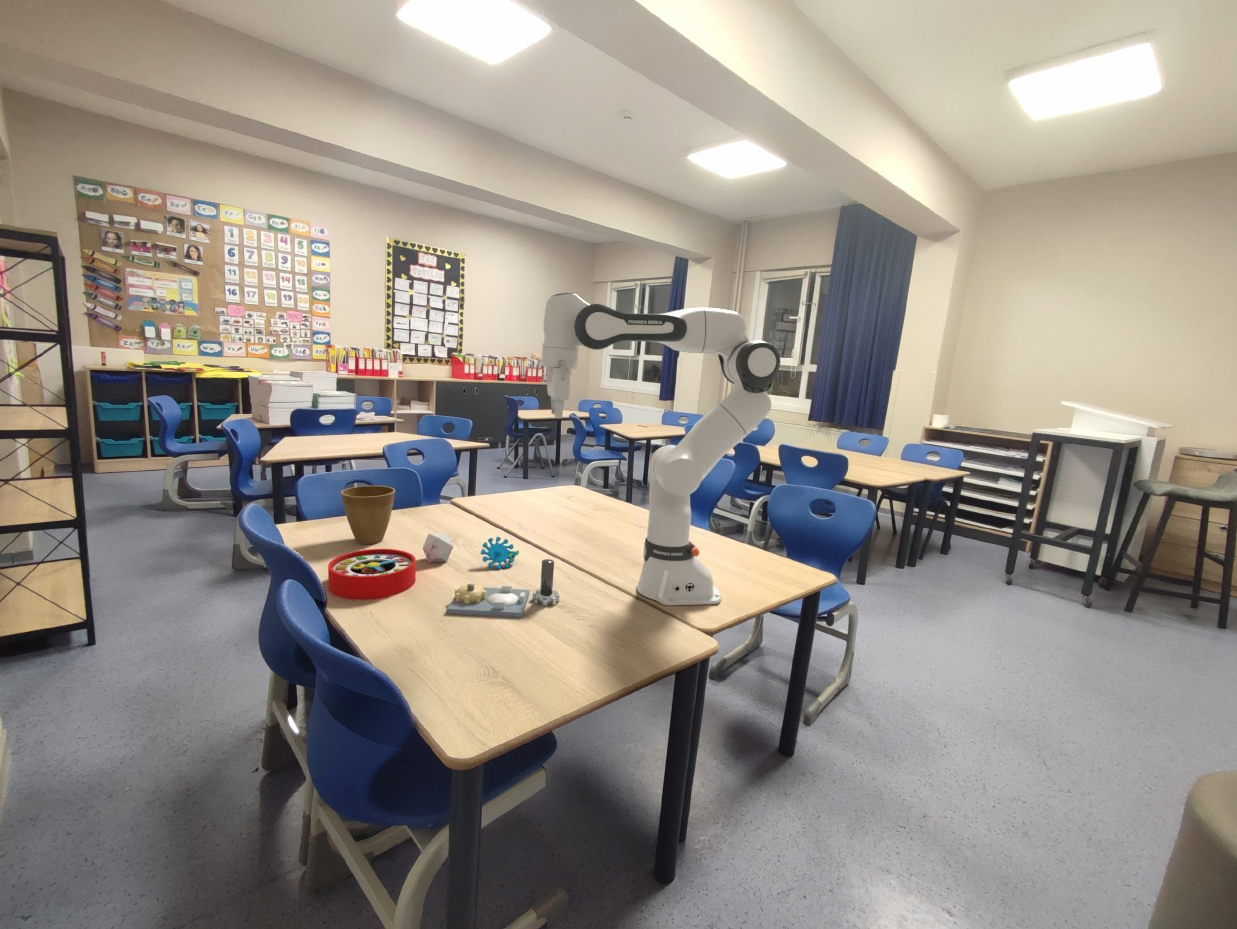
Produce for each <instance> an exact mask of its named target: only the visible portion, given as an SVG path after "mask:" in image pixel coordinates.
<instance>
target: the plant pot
mask: <svg viewBox="0 0 1237 929" xmlns="http://www.w3.org/2000/svg"><path fill="white" fill-rule="evenodd" d="M340 493H341V494H340V495H341V499H342V504H343V508H344V509H343V510H344V512H345V515H346V518H347V522H348V525H349V527H350V531H351V532H352V535H353V537H354V538H355V541H356V543H358V544H359V545H361V544H362V545H372V544H377V543H378V544H379V543H381V542H382V541H383V540H384V538H385V536H386V532H387V529H388V526H389V523H390V519H391V515H392V510H393V507H394V501H395V493H396V489H395V488H393V487H390V486H385V485H361V486H354V487H352V486H351V487H349V488H345V489H343V490H341V491H340Z"/></svg>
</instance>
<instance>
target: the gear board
mask: <svg viewBox="0 0 1237 929" xmlns="http://www.w3.org/2000/svg"><path fill="white" fill-rule="evenodd" d="M530 592H531V591H530V589H523V588H513V585H512V584H501V587H487V586H486V587H485V586H484V585H478V584H475V583H468V584H466V585H465V584H463V585H460V586H459V588H455V590H454V597H453V599H452V600H451V603H449V604H448V607H447V610H446V613H447V614H450V615H464V616H465V615H466V616H483V617H502V618H504V617H505V618H519V619H521V618H523V616H524V611H525V608H526V605H527V603H528V600H529V596H530Z"/></svg>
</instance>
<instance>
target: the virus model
mask: <svg viewBox="0 0 1237 929" xmlns="http://www.w3.org/2000/svg"><path fill="white" fill-rule="evenodd" d="M501 540H502V538H501V537H500V536H496V537H495V543H493V541H494V538H493V537H490V538H488V540H487V542H486V541H485V542H484V543H482V546H481V547H483V548H482V549H481V551H480V554H481V555H485V556H483V557H482V561H483V562H488V561H490V562H488V564H487V566H488V567H489V568H492V567H493V566H494V564H496V563H498V564H497V565H496V566H495V569H496V570H501V568H502V563H504V564H503V568H504V569H506V568H509V564H513V563H514V562H515V559H516V556H519V554H520V551H519V550H514V551H513V549H514V545H513V544H512V543H511V544H509V545H507V544H508V543H509V540H508V539H507V538H504V539H503V541H502V542H500V541H501ZM499 542H500V543H499ZM488 543H489V545H490V546H488ZM484 548H485V549H486V550H487V551H486V550H485V549H484ZM509 549H510V550H509ZM507 560H508V561H507ZM508 562H509V563H508Z"/></svg>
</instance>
